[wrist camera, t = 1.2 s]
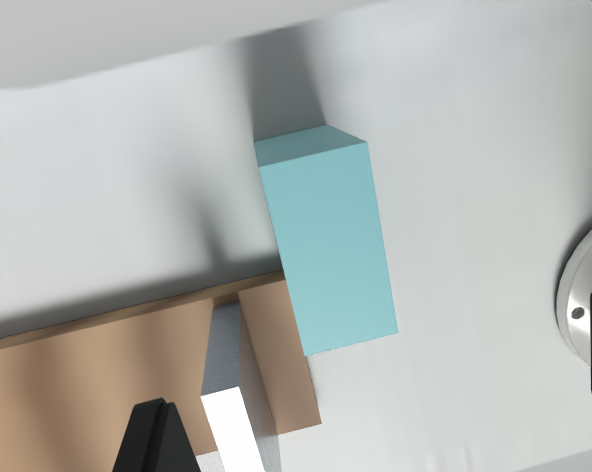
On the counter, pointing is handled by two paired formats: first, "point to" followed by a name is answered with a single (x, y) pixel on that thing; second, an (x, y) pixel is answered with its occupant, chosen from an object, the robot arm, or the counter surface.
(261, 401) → the bookend
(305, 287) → the teal rectangular block
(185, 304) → the wooden book rack
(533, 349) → the counter surface
